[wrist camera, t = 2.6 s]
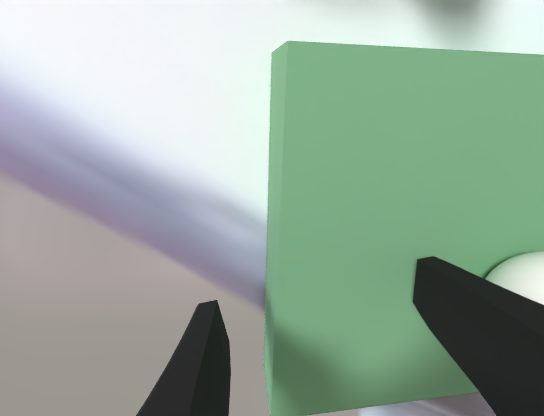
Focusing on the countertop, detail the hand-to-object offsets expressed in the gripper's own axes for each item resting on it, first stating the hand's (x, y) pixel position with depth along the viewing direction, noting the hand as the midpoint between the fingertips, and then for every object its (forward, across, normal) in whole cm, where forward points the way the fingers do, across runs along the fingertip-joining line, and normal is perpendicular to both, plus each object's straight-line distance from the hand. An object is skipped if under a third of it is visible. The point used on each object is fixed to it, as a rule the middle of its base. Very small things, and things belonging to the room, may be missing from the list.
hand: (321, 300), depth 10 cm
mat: (+4, -10, +2) cm, 11 cm away
